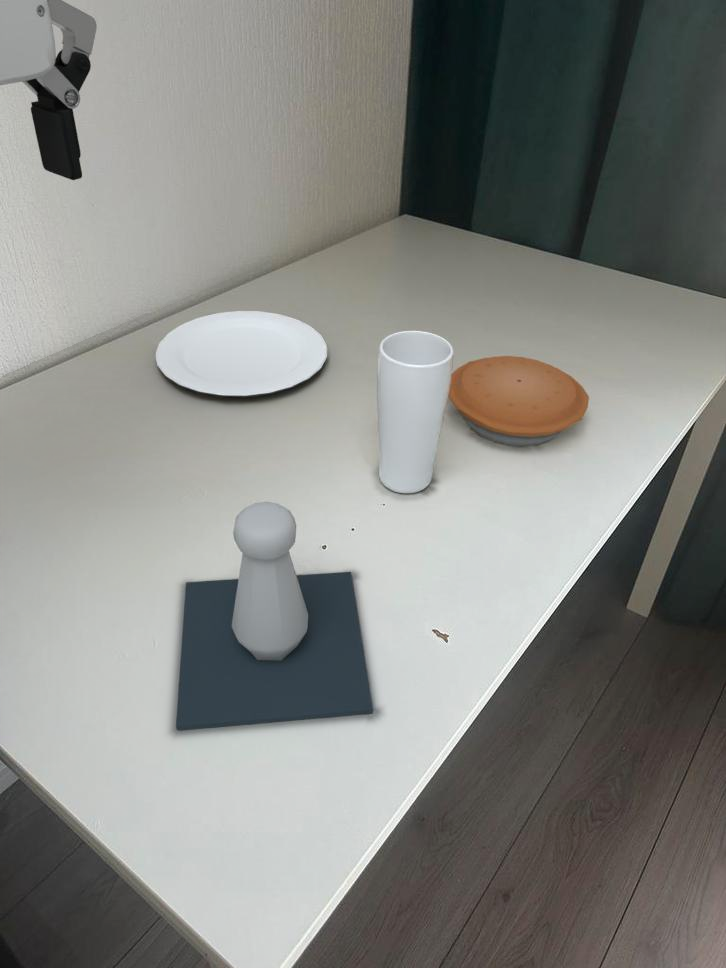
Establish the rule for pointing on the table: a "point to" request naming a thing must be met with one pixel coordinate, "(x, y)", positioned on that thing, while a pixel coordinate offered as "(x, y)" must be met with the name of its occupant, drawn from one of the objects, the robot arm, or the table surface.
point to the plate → (241, 354)
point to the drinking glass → (411, 406)
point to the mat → (271, 683)
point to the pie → (516, 399)
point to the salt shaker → (268, 583)
